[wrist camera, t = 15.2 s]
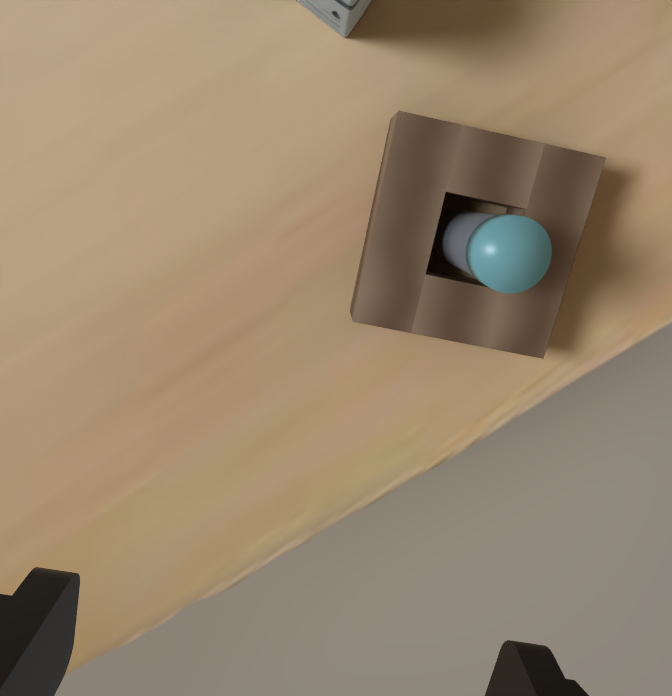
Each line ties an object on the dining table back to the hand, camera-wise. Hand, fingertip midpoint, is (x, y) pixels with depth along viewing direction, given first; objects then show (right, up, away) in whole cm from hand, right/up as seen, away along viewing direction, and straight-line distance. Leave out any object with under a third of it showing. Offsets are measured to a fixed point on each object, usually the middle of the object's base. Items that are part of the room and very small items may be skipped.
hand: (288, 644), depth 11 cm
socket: (+10, +14, +32) cm, 36 cm away
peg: (+10, +14, +32) cm, 36 cm away
